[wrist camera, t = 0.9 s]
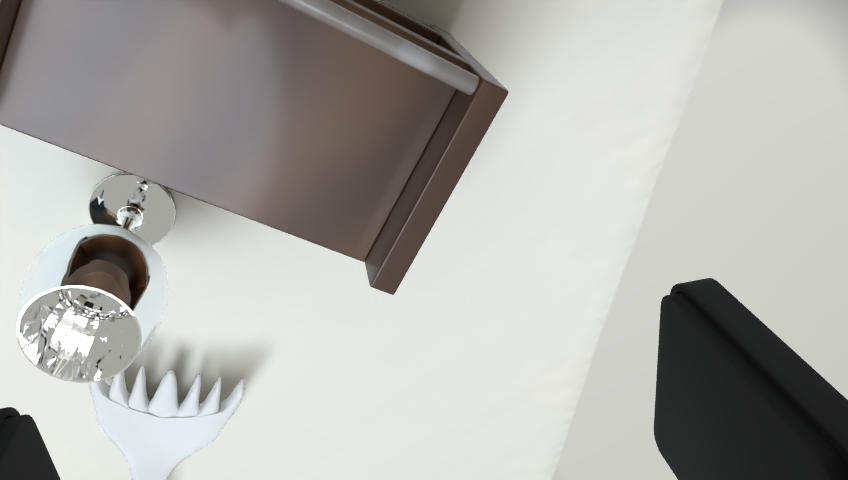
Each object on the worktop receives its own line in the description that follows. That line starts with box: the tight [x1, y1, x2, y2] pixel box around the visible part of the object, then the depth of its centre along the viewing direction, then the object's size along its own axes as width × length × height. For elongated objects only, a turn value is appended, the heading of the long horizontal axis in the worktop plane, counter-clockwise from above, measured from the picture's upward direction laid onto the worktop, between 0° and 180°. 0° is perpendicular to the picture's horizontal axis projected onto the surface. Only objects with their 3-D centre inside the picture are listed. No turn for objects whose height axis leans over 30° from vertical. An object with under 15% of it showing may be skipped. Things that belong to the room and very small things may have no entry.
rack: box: [0, 0, 508, 295], centre depth 32 cm, size 18×10×11 cm, turn 62°
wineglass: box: [16, 173, 176, 383], centre depth 34 cm, size 6×6×12 cm
